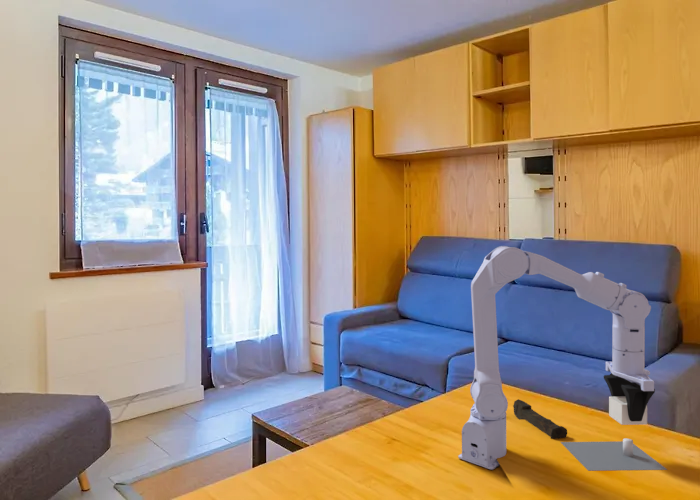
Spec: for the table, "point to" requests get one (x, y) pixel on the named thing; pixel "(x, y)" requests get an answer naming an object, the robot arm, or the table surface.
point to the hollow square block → (623, 411)
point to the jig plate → (612, 456)
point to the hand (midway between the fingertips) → (628, 415)
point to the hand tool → (538, 420)
